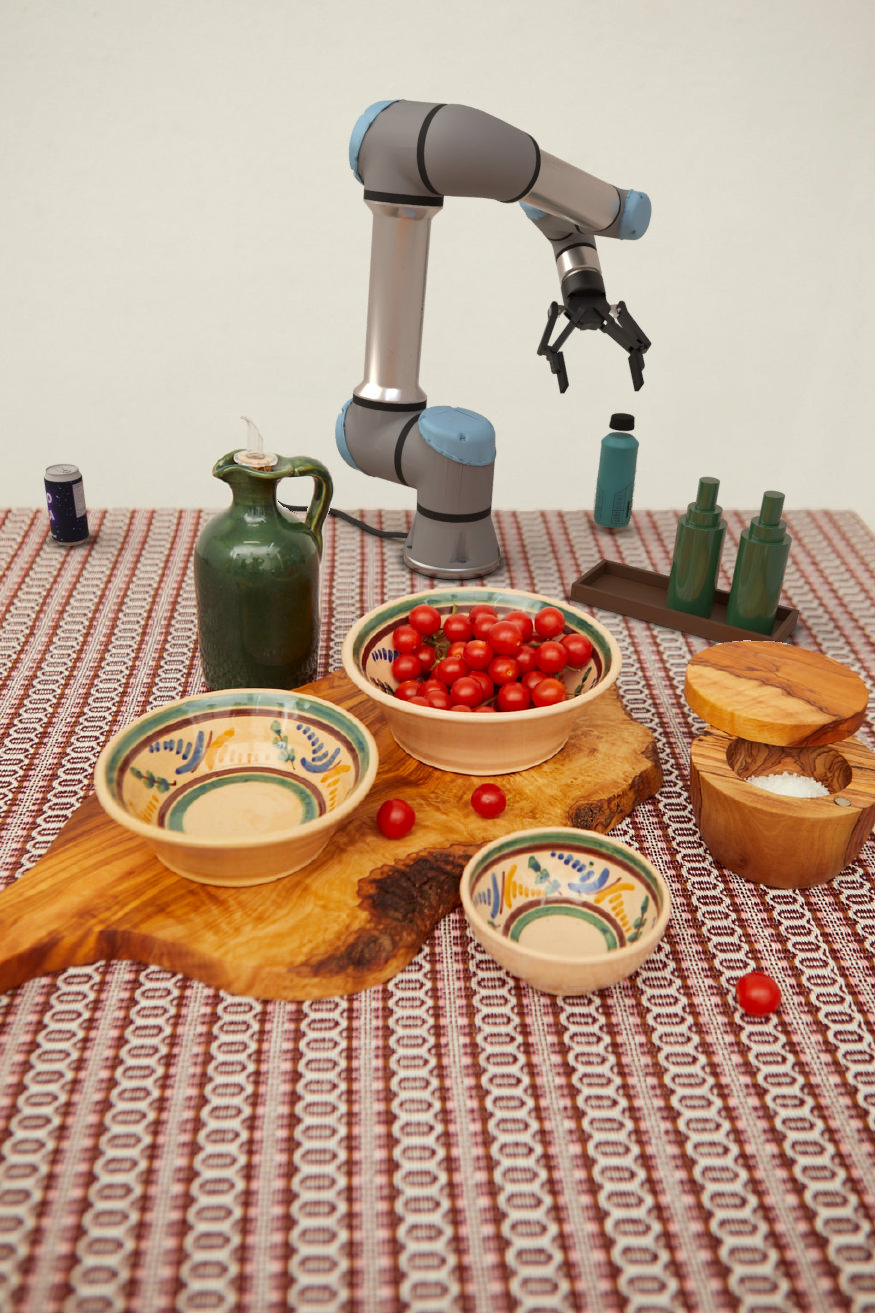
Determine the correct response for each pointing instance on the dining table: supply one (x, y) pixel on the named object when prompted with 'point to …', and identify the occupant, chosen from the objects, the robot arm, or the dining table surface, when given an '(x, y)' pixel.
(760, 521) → the green bottle
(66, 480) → the beverage can
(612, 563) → the tray
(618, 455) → the beverage bottle
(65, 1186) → the dining table surface
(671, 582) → the green bottle
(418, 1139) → the dining table surface
